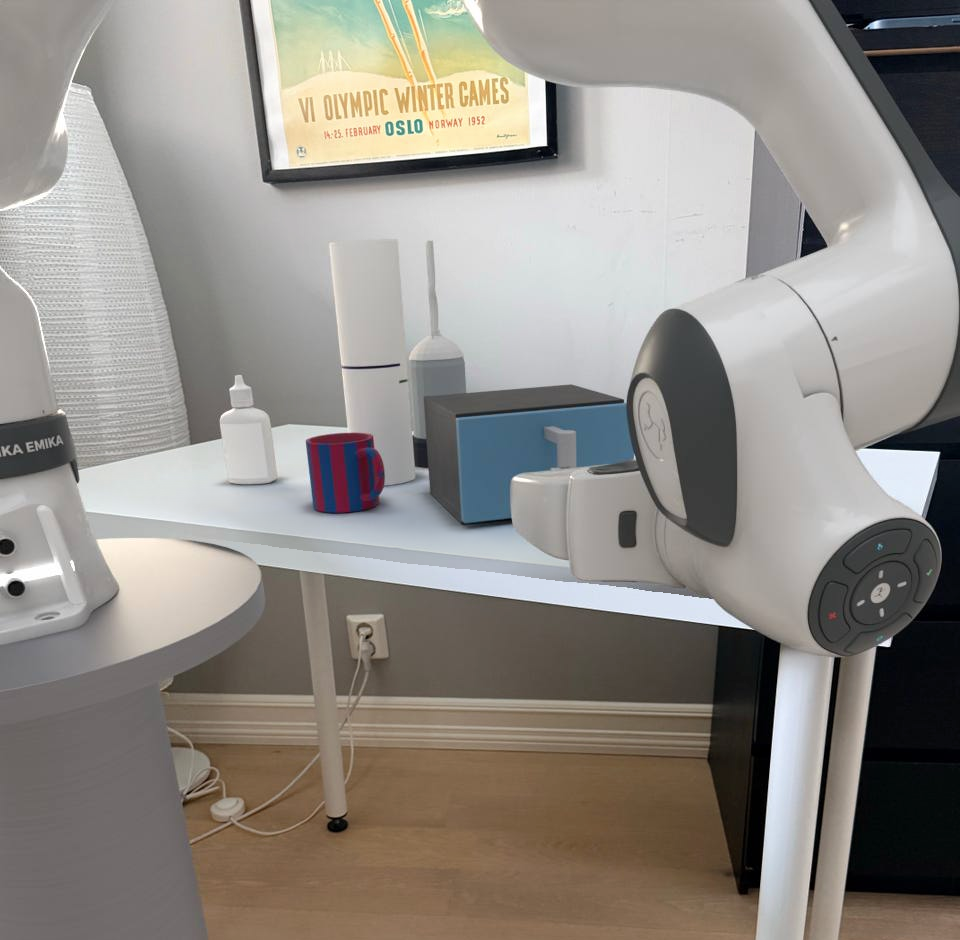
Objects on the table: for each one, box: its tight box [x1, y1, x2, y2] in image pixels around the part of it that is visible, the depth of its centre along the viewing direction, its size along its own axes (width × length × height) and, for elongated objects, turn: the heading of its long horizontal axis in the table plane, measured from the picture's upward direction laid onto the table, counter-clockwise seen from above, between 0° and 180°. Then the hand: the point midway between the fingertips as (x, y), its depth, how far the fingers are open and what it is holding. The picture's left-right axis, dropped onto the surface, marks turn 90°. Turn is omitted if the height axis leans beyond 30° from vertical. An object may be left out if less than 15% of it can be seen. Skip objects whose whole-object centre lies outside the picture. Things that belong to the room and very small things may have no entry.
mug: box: [305, 432, 385, 514], centre depth 92 cm, size 7×10×7 cm
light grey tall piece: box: [407, 240, 467, 468], centre depth 110 cm, size 8×8×25 cm
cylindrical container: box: [328, 238, 416, 486], centre depth 101 cm, size 7×7×25 cm
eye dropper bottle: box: [219, 374, 278, 485], centre depth 106 cm, size 4×6×12 cm
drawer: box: [456, 402, 635, 524], centre depth 87 cm, size 19×16×9 cm
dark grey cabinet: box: [424, 384, 625, 525], centre depth 92 cm, size 14×16×10 cm
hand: (620, 471), depth 68 cm, fingers open, 8 cm apart
